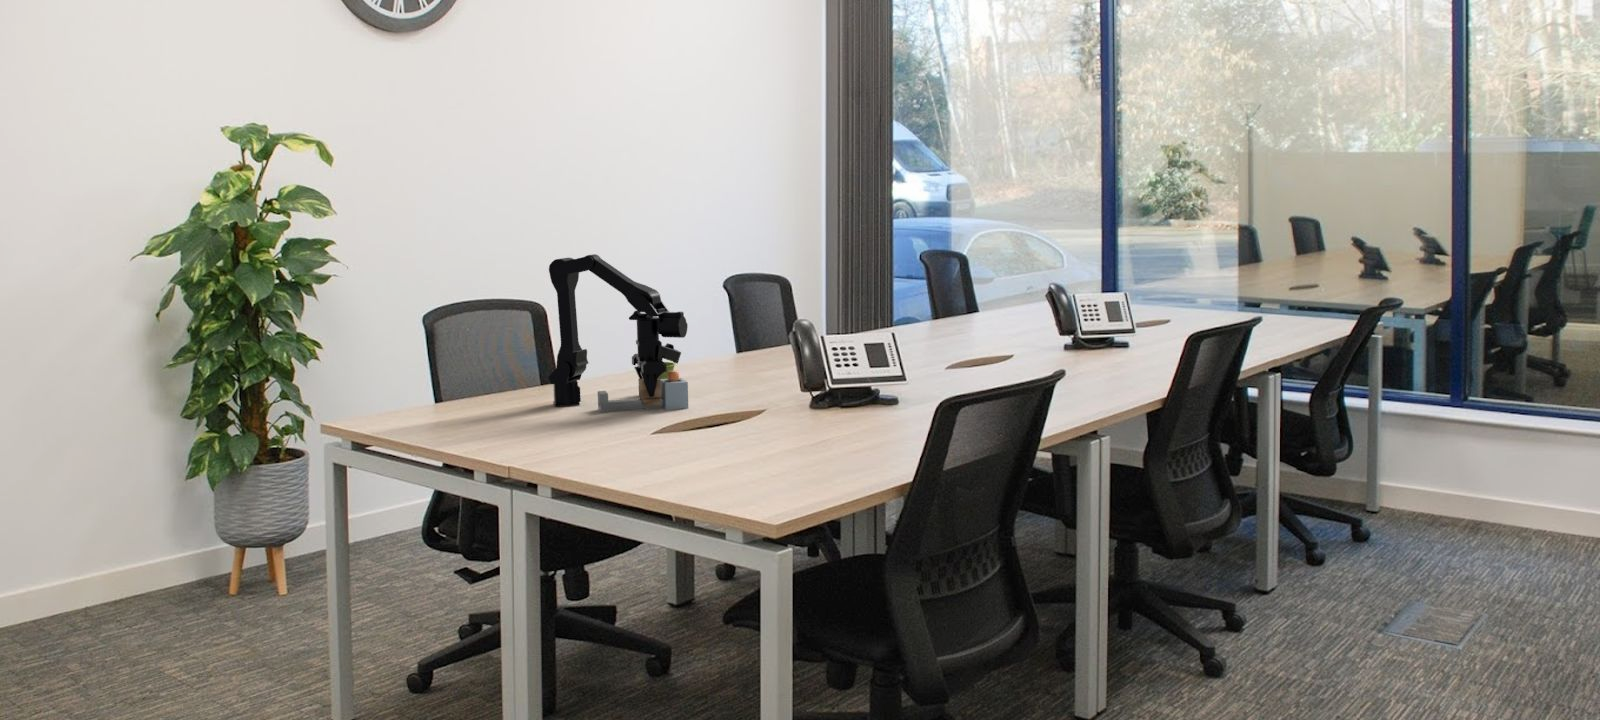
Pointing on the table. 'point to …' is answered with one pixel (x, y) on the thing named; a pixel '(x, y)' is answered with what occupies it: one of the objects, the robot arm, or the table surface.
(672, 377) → the brown egg
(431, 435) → the table surface
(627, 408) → the rail
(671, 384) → the blue grey open box
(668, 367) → the plant pot
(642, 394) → the block
